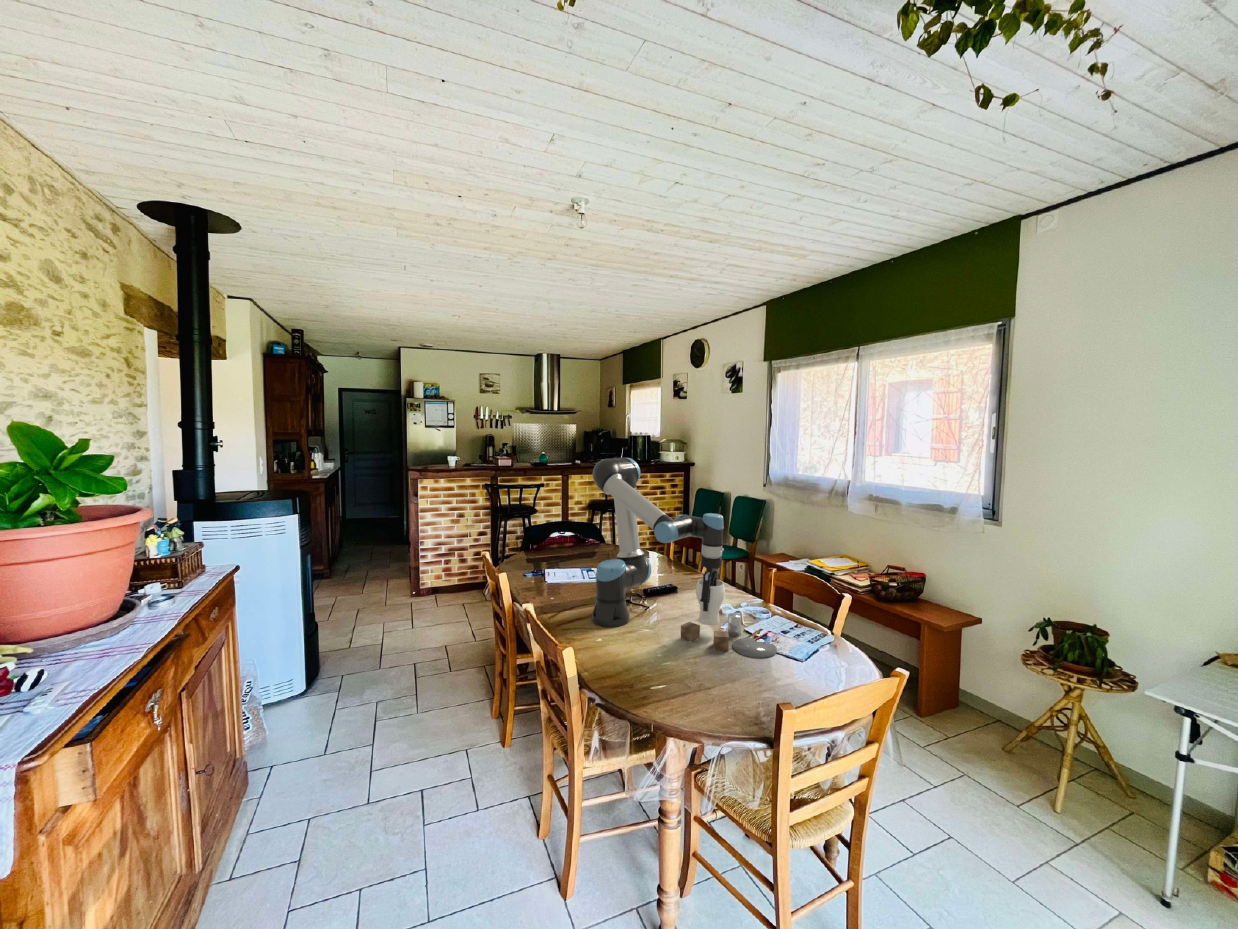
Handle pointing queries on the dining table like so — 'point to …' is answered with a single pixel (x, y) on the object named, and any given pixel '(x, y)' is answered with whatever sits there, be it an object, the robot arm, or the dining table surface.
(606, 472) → the robot arm
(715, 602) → the cup
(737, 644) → the disc
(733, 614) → the grey tin
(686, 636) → the walnut block
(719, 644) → the walnut block
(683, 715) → the dining table surface
